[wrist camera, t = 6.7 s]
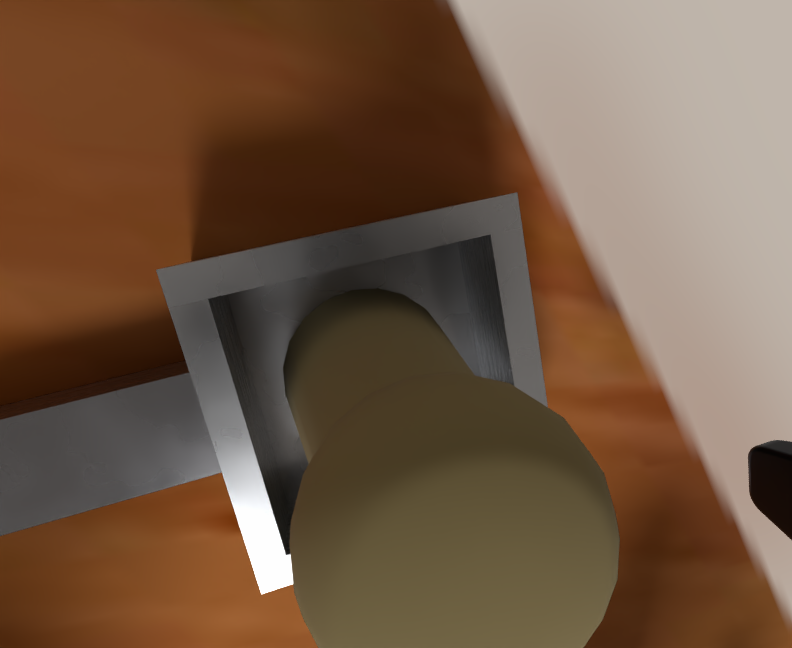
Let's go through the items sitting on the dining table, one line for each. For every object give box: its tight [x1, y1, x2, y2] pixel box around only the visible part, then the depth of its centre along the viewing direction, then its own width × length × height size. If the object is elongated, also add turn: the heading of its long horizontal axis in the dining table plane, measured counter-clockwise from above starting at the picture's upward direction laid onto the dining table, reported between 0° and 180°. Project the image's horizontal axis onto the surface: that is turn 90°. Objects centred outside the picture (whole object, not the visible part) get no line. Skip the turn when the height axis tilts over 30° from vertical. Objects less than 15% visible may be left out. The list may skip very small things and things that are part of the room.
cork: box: [283, 288, 620, 648], centre depth 11 cm, size 6×6×11 cm
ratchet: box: [0, 193, 548, 594], centre depth 15 cm, size 10×19×5 cm, turn 102°
